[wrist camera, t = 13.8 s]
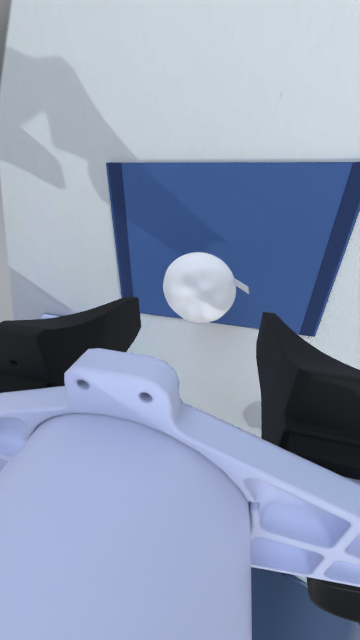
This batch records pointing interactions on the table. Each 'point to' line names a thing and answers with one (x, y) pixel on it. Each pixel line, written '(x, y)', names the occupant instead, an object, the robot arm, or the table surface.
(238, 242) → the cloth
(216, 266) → the milkshake
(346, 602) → the pen holder
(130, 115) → the table surface
